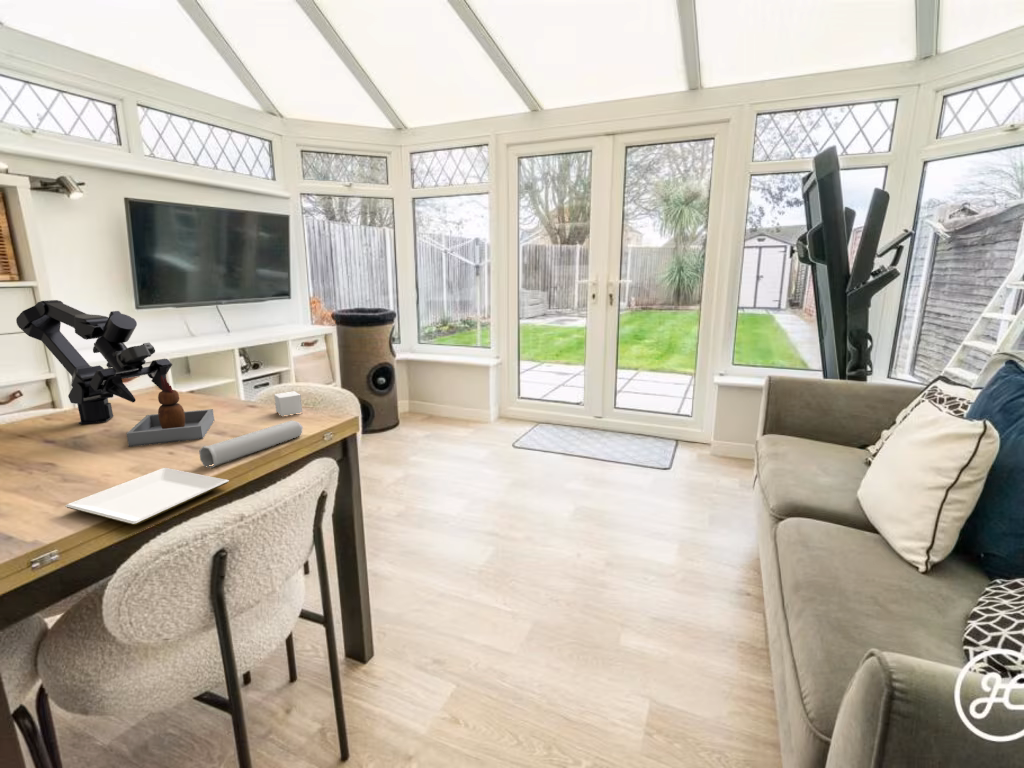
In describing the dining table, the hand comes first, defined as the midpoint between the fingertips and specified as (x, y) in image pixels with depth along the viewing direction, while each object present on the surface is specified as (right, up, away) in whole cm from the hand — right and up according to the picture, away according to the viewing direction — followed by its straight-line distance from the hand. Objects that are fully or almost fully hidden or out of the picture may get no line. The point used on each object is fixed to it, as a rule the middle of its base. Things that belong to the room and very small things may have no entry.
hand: (152, 397), depth 135 cm
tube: (+35, -13, -12) cm, 39 cm away
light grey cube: (+29, -6, +18) cm, 35 cm away
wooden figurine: (+6, -9, 0) cm, 11 cm away
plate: (+28, -19, -39) cm, 51 cm away
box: (+6, -10, 0) cm, 11 cm away
